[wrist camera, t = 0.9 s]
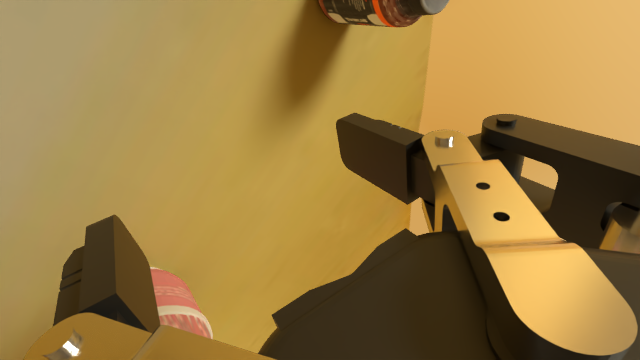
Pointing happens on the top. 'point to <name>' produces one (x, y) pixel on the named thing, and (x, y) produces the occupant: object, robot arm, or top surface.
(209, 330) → the container
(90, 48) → the top surface
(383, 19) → the supplement bottle
